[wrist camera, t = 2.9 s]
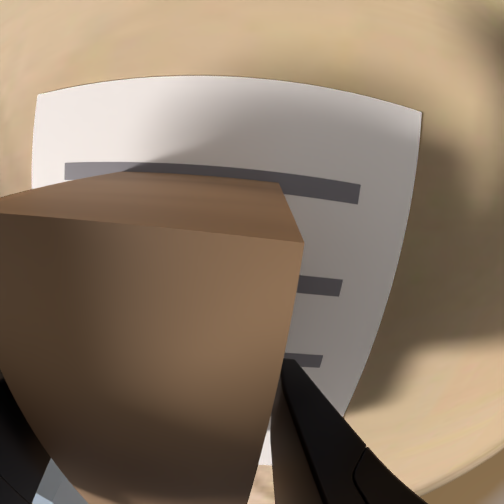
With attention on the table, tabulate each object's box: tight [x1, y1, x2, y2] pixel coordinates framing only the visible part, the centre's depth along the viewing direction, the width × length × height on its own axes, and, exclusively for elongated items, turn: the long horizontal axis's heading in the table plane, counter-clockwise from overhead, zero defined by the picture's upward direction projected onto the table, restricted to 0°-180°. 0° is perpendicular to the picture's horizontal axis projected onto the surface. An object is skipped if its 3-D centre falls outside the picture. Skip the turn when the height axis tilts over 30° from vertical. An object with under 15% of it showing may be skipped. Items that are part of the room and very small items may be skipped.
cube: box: [32, 458, 88, 504], centre depth 9 cm, size 5×5×5 cm
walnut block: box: [0, 172, 305, 504], centre depth 6 cm, size 9×4×5 cm, turn 174°
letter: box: [32, 76, 422, 465], centre depth 8 cm, size 14×11×1 cm
